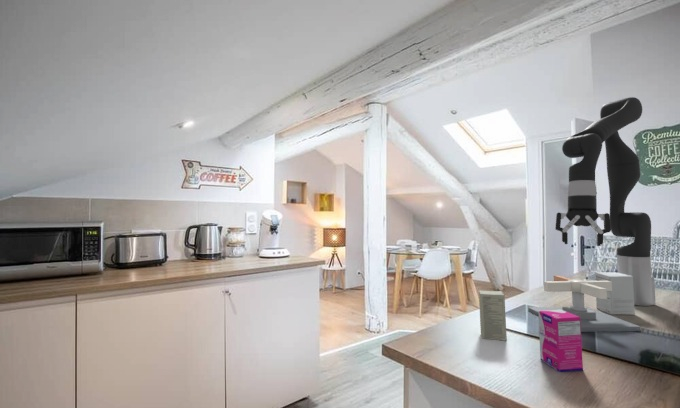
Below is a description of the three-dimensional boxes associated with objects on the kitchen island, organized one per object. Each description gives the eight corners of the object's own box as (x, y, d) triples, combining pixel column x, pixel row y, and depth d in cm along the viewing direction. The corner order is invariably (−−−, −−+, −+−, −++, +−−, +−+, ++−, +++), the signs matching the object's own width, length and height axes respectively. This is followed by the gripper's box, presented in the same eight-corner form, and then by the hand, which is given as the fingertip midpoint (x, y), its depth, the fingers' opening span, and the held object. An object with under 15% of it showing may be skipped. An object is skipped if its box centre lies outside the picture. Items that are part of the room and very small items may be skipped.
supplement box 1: (539, 360, 74) (537, 309, 74) (563, 359, 74) (561, 308, 75) (558, 372, 68) (556, 317, 68) (584, 371, 69) (582, 316, 69)
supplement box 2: (618, 308, 112) (616, 272, 113) (635, 315, 105) (633, 276, 105) (595, 308, 113) (594, 271, 114) (611, 314, 106) (609, 275, 106)
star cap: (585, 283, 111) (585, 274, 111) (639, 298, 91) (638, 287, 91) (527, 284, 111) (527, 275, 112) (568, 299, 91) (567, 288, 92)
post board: (586, 310, 111) (585, 284, 111) (640, 330, 91) (639, 299, 91) (528, 310, 111) (527, 285, 111) (569, 331, 91) (568, 300, 91)
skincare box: (504, 335, 89) (503, 291, 90) (507, 341, 85) (505, 294, 85) (479, 333, 91) (478, 289, 92) (481, 338, 87) (479, 293, 88)
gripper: (607, 196, 106) (607, 246, 105) (555, 196, 113) (554, 243, 112) (612, 193, 99) (612, 247, 98) (556, 194, 107) (556, 243, 105)
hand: (581, 244), depth 105 cm, fingers open, 8 cm apart
